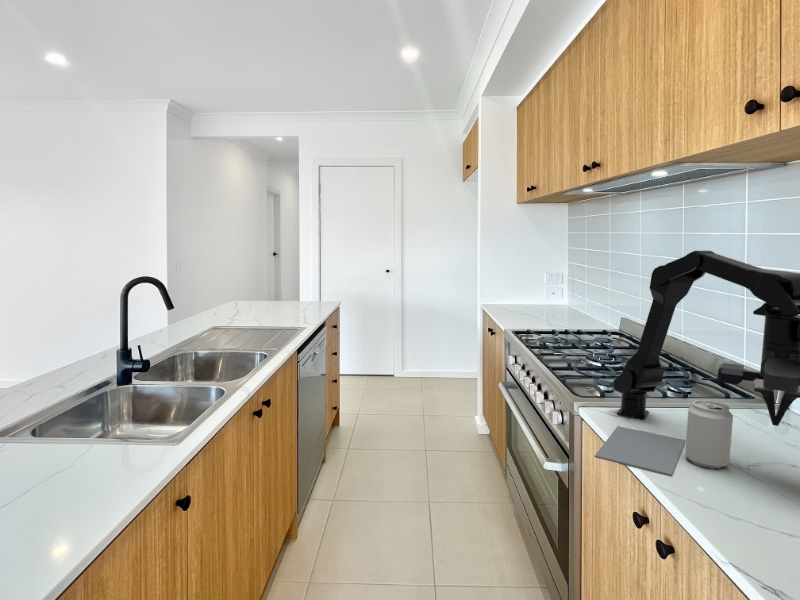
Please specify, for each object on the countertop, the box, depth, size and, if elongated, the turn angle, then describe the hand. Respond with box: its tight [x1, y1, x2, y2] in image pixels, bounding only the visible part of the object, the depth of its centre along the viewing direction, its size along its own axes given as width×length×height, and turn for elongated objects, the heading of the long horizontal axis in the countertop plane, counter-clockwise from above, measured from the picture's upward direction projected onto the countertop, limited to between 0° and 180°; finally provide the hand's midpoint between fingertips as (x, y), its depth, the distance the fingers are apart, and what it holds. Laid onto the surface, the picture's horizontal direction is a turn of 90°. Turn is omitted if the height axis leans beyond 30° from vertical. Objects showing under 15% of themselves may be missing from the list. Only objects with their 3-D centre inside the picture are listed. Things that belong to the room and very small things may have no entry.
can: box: [684, 399, 734, 469], centre depth 96 cm, size 8×8×12 cm
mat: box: [594, 425, 686, 477], centre depth 103 cm, size 20×14×1 cm
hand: (775, 424), depth 90 cm, fingers closed
